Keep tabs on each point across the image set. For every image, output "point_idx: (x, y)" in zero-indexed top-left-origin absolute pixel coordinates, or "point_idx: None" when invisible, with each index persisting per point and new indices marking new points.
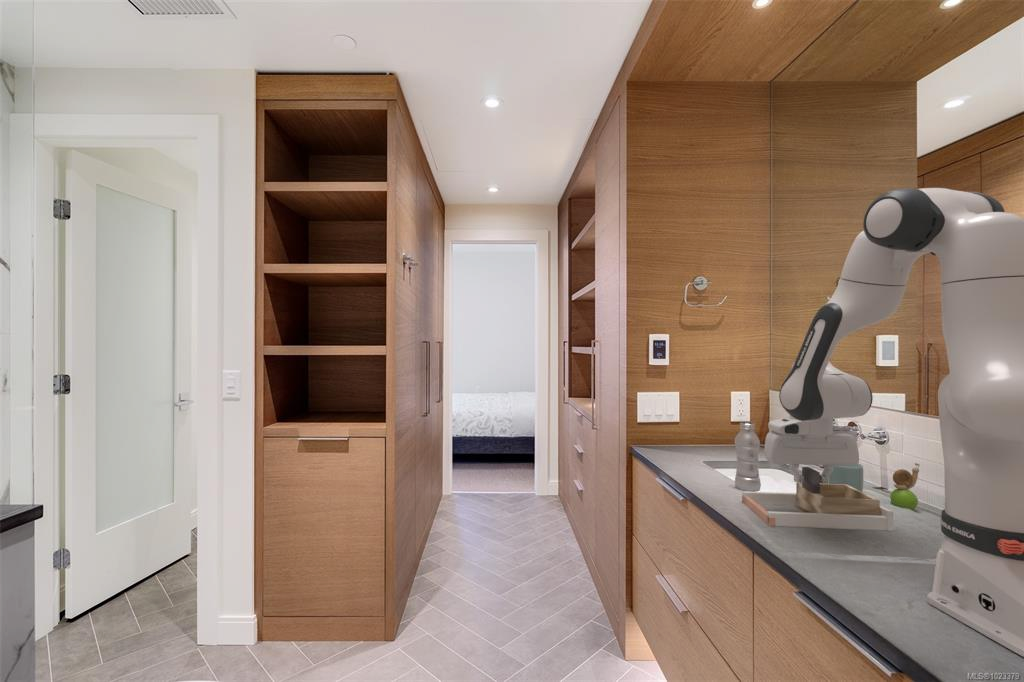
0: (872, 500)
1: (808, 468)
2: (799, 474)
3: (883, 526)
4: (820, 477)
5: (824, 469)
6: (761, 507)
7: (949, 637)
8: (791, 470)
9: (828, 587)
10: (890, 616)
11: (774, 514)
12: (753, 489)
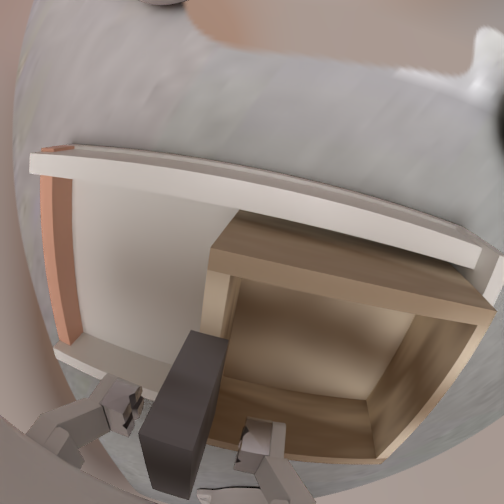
0: (360, 463)
1: (167, 463)
2: (103, 434)
3: None
4: (238, 453)
5: (282, 488)
6: (56, 287)
7: (175, 496)
8: (66, 407)
9: (112, 451)
10: (146, 480)
11: (67, 361)
12: (166, 2)
